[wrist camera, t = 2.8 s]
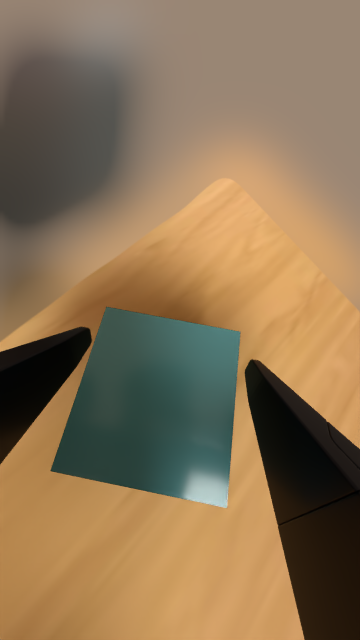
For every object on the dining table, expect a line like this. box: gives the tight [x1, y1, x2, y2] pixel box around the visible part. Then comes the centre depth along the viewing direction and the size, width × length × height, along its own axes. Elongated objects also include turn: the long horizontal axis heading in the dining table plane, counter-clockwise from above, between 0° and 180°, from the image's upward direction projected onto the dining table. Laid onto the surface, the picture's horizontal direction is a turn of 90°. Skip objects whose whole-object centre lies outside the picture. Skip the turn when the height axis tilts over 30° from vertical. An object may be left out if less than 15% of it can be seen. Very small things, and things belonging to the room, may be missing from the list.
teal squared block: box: [51, 307, 240, 508], centre depth 11 cm, size 7×7×10 cm
